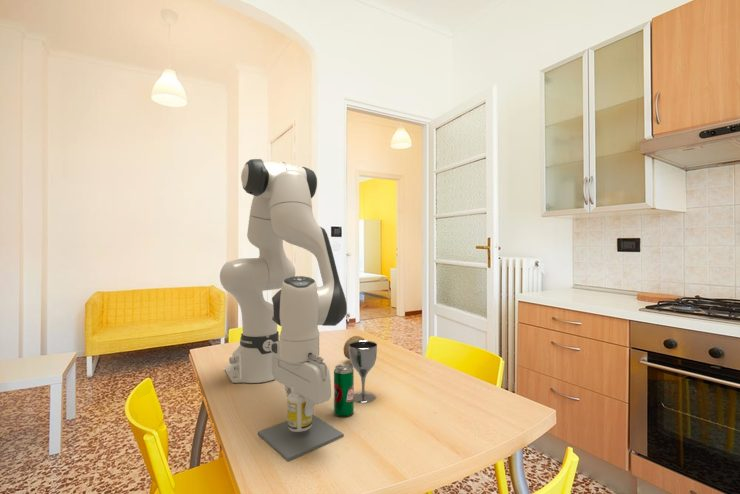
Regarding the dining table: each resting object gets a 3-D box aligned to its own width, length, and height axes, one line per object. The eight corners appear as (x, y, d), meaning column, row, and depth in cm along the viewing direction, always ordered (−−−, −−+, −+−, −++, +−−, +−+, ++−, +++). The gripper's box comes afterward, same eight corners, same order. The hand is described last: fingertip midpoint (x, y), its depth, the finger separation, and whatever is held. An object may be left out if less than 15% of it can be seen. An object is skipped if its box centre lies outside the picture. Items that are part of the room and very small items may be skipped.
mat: (257, 434, 83) (257, 431, 83) (310, 415, 92) (310, 412, 92) (288, 461, 73) (288, 458, 73) (343, 436, 82) (343, 433, 82)
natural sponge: (362, 369, 126) (361, 340, 126) (339, 366, 130) (338, 338, 130) (371, 361, 135) (371, 334, 135) (349, 358, 138) (349, 332, 138)
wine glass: (356, 405, 98) (356, 350, 98) (344, 394, 105) (344, 342, 105) (382, 399, 101) (382, 346, 101) (369, 389, 108) (369, 339, 108)
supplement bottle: (312, 420, 86) (312, 378, 85) (311, 432, 80) (310, 388, 80) (289, 421, 85) (289, 379, 85) (286, 433, 80) (285, 388, 80)
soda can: (351, 418, 90) (350, 370, 90) (331, 416, 91) (331, 369, 91) (355, 409, 95) (355, 363, 95) (337, 408, 96) (337, 362, 96)
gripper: (338, 356, 77) (338, 421, 77) (289, 337, 92) (290, 392, 92) (313, 363, 73) (313, 432, 73) (266, 342, 88) (266, 399, 88)
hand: (300, 409), depth 83 cm, fingers closed on supplement bottle, 5 cm apart
